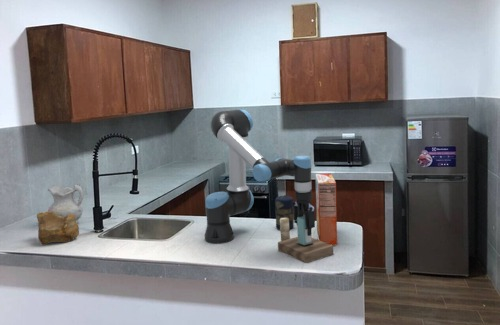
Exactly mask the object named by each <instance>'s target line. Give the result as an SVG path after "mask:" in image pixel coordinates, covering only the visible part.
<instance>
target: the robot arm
mask: <svg viewBox="0 0 500 325" xmlns="http://www.w3.org/2000/svg"><path fill="white" fill-rule="evenodd" d="M253 127H254V121H253V118H252V116H251V114H250V113H249V112H248V111H247V110H244V109H232V110H231V109H230V110H221V111H219V112H217V113H215V114H214V115H213V116H212V118H211V121H210V129H211V130H210V131H211V132H212V134H213V136H214V137H215V138H216V139H217V140H218V141H220V142H223V143H224V144H225V145H227V146H228V172H229V173H228V175H229V176H228V177H229V185H228V186H227V187H226V191H215V192H212V193H210V194H208V195H207V196H206V197H205V213H206V227H205V232H204V241H205V242H207V243H209V244H224V243H228V242H231V241H233V240H234V239H235V233H234V229H233V227H232V225H231V218H230V217H231V216H235V215H238V214H243V213H245V212H247V211H250V209H252V207H253V205H254V203H255V202H254V200H255V199H254V194H253V193H252V191H251V189H250V188H249V186H248V185H247V174H246V173H247V170H246V168H247V167H246V166H248V167H249V168H250V169H251V170H252V172H251V173H252V176H253V178H254V179H255V181H257V182H265V181H270V180H273V179H277V178H278V179H279V178H281V177H286V176H289V177H294V178H293V179H294V190H295V191H294V199H295V200H296V201H293V215H294V224H296V225H297V217H301V216H304V217H305V222H306V228H305V239H306V243H308V242H311V238H312V236H313V235H312V233H313V232H312V229H314V228H316V219H315V218H316V215H315V214H316V206H313V205H312V203H311V202H312V201H311V200H313V199H312V198H313V191H312V189H313V188H312V187H313V186H312V161H311V160H312V159H311V157H310V156H309V155H297V156H294V157H293V159H291V158H289V159H288V158H285V157H284V158H280V157H279V158H276V159H275V160H273V161H268V160H267V159H266V158H265V157H264V156H263V155H262V154H261V153H260V152H259V151H257V150H256V148H254V147H253V146H252V145H251V144H250V143H249V141H247V138H248V137H249V132H250V131H251V130H252V129H253Z"/></svg>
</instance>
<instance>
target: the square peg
mask: <svg viewBox="0 0 500 325" xmlns="http://www.w3.org/2000/svg"><path fill="white" fill-rule="evenodd" d="M296 226H297V237H298V243H300V244H302V245H307V244H310V243H312V240H311V242H308V243H306V239H305V228H306V222H305V217H304V215H303V216H301V217H297V224H296Z"/></svg>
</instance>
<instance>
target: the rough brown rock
mask: <svg viewBox="0 0 500 325" xmlns="http://www.w3.org/2000/svg"><path fill="white" fill-rule="evenodd" d="M36 219H37V222H38V225H37V226H38V232H37V233H38V235H37V236H38V239H39V241H40V244H41V245H47V244H49V243H54V242H56V243H58V242H59V243H69V242H70V241H73V240H75V239H76V238H77V237H78V236H79V234H80V229H79V223H78V222H77V221H76V219H75V215H73V214H68V215H67V216H65V217H61V216H58V215H56V214H55V213H54V212H53V211H48V210H47V211H45V212H39V213H37V214H36ZM76 222H77V223H78V224H77V223H76Z"/></svg>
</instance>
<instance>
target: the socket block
mask: <svg viewBox="0 0 500 325" xmlns="http://www.w3.org/2000/svg"><path fill="white" fill-rule="evenodd" d="M311 240H312V243H310V244H307V245H302V244H300V243H298V236H296V237H295V236H294V237H292V238H291V237H290V239H288V240H284V241H281V240H280V241H278V242H277V251H279V252H280V253H283V254H285V255H287V256H290V257H292V258H294V259H295V260H298V261H300V262H302V263H304V264H307V263H310V262H313V261H317V260H319V259H323V258H325V257H328V256H329V257H330V256H333V255H334V245H330V244H327V243H325V242H322V241H319V239H316V238H315V237H311Z"/></svg>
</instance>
